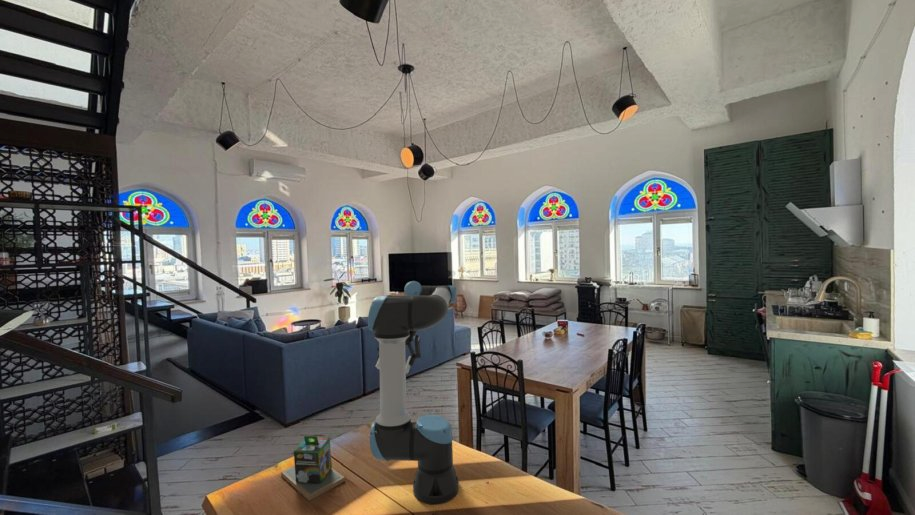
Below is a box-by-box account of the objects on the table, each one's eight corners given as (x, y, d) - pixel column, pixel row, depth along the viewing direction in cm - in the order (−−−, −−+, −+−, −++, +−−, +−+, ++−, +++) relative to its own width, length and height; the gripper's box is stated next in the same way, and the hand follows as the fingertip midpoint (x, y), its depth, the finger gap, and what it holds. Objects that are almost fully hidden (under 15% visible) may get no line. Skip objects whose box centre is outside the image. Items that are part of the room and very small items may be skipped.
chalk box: (332, 467, 139) (330, 428, 138) (320, 484, 130) (318, 442, 129) (307, 466, 140) (306, 427, 139) (294, 482, 131) (292, 440, 130)
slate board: (344, 481, 134) (344, 476, 134) (309, 501, 124) (308, 496, 124) (315, 459, 147) (315, 455, 147) (281, 475, 137) (281, 471, 137)
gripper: (438, 332, 167) (421, 378, 154) (389, 327, 177) (370, 370, 165) (431, 322, 162) (414, 370, 149) (382, 318, 172) (362, 361, 160)
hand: (391, 370), depth 157 cm, fingers open, 13 cm apart
